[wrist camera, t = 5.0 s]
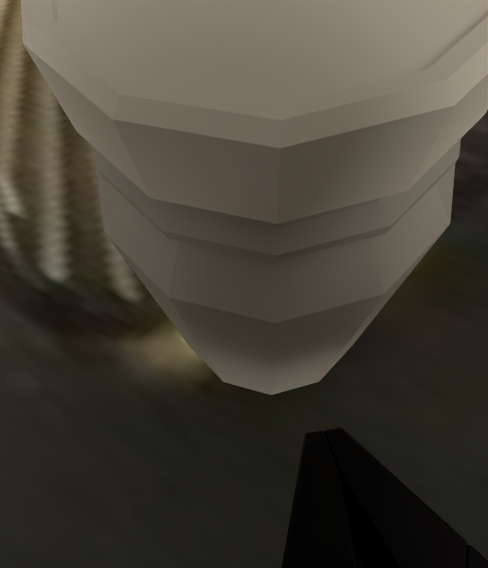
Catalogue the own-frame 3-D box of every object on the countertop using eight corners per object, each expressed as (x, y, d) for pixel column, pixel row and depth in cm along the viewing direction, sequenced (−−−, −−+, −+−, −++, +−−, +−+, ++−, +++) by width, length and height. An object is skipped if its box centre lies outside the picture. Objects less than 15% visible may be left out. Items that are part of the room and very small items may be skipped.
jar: (236, 433, 20) (92, 354, 4) (159, 284, 24) (-94, -101, 7) (390, 340, 21) (797, -28, 5) (295, 212, 25) (346, -244, 9)
